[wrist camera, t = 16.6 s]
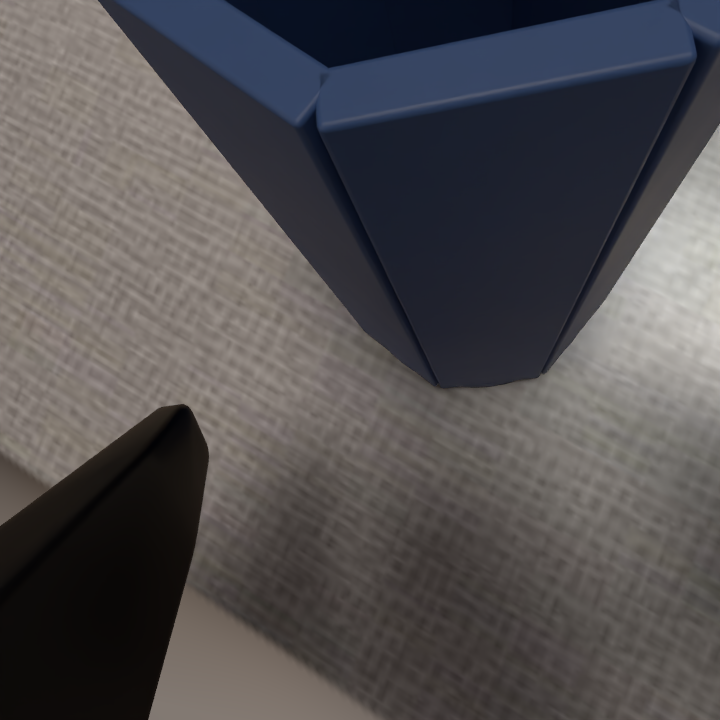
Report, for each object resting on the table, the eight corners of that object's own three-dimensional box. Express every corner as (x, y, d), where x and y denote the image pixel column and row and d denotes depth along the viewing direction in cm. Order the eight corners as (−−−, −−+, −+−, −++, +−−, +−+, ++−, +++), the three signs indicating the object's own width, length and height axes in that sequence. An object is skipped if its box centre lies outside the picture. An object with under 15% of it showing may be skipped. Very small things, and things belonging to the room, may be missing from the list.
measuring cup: (615, 372, 16) (1069, -14, 4) (371, 399, 17) (63, 179, 5) (551, -2, 18) (689, -1032, 6) (340, 43, 20) (80, -742, 7)
